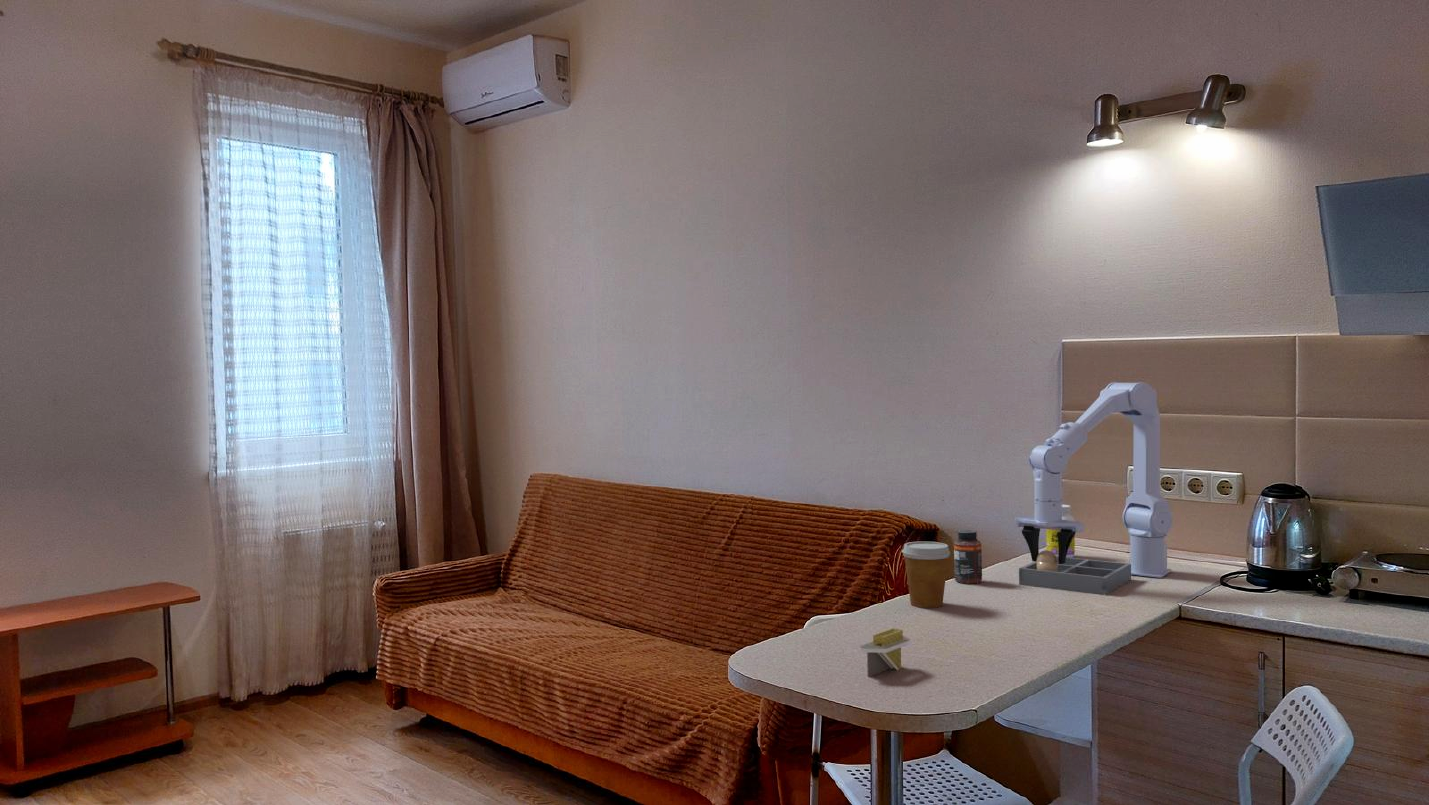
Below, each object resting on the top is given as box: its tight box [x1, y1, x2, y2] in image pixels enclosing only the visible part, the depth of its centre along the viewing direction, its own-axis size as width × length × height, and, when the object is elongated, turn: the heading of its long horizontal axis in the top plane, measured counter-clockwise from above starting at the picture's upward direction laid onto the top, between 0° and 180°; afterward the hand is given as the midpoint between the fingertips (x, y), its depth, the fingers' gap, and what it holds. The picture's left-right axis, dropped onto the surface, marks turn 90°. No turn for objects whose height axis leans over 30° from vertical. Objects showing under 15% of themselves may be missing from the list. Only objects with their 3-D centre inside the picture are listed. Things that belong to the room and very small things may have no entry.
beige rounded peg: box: [1036, 550, 1058, 572], centre depth 216 cm, size 4×4×6 cm
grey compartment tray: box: [1018, 556, 1132, 596], centre depth 217 cm, size 18×18×4 cm
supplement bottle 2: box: [1045, 504, 1076, 558], centre depth 246 cm, size 7×7×13 cm
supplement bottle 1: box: [953, 529, 983, 585], centre depth 219 cm, size 6×6×11 cm
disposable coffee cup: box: [901, 541, 951, 609], centre depth 198 cm, size 10×10×12 cm
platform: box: [858, 627, 911, 678], centre depth 154 cm, size 12×18×7 cm, turn 136°
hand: (1048, 562), depth 216 cm, fingers open, 5 cm apart
